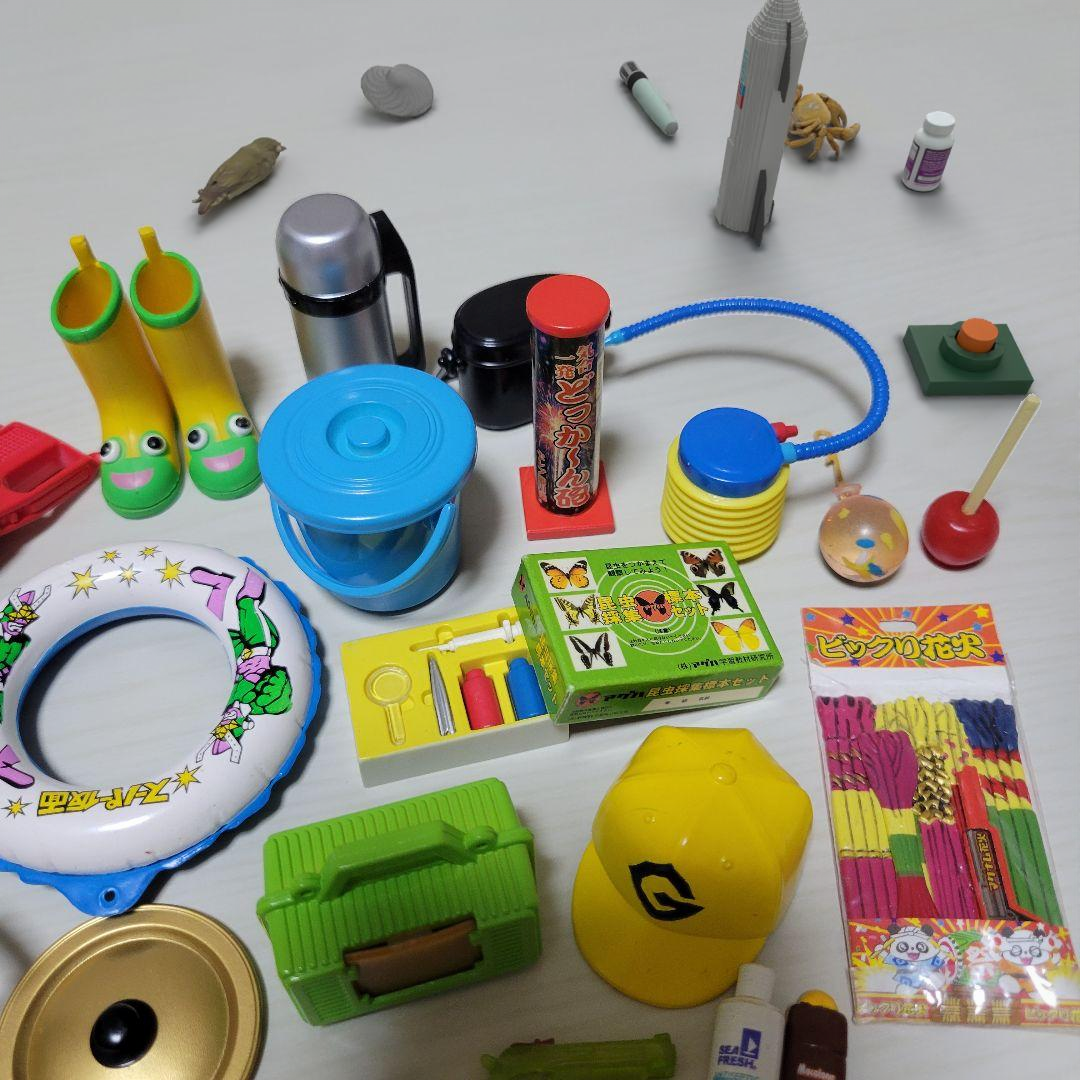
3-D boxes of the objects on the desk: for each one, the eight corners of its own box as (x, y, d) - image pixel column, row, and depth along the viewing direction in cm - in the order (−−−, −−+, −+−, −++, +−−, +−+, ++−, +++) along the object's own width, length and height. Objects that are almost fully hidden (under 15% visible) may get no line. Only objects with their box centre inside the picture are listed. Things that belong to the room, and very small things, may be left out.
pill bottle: (945, 181, 137) (968, 117, 130) (927, 197, 135) (950, 132, 127) (911, 167, 139) (932, 104, 132) (893, 183, 137) (914, 119, 129)
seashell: (356, 96, 153) (366, 118, 146) (356, 59, 149) (365, 79, 142) (427, 97, 156) (440, 119, 149) (428, 61, 152) (441, 81, 146)
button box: (999, 337, 116) (1012, 311, 113) (1026, 394, 110) (1041, 368, 107) (902, 339, 116) (912, 313, 113) (924, 396, 110) (935, 370, 107)
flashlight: (692, 126, 144) (645, 65, 155) (670, 117, 141) (624, 55, 153) (680, 146, 146) (635, 83, 157) (658, 137, 143) (614, 74, 155)
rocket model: (783, 244, 128) (837, 11, 104) (733, 250, 127) (775, 17, 104) (750, 186, 137) (793, -41, 113) (702, 192, 136) (735, -36, 112)
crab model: (874, 156, 142) (885, 121, 137) (796, 169, 139) (804, 133, 135) (827, 104, 151) (836, 70, 146) (753, 116, 148) (760, 81, 144)
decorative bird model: (300, 160, 142) (293, 128, 138) (211, 229, 131) (201, 197, 127) (273, 151, 143) (266, 119, 139) (183, 219, 133) (172, 187, 129)
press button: (985, 331, 112) (992, 317, 110) (996, 354, 109) (1003, 340, 108) (952, 331, 112) (958, 318, 110) (961, 354, 109) (968, 341, 108)
